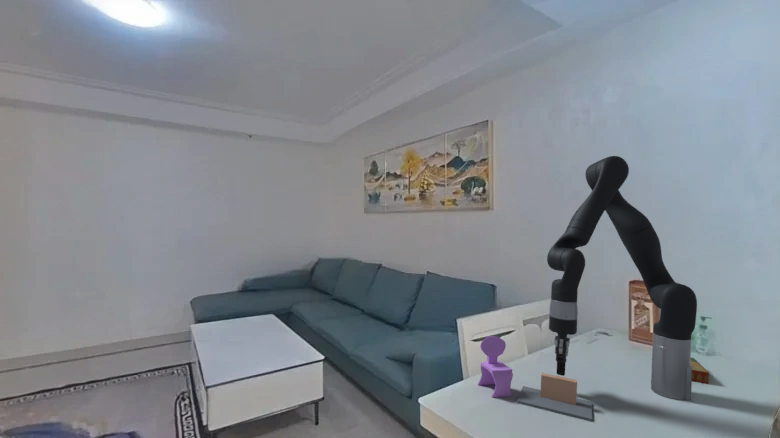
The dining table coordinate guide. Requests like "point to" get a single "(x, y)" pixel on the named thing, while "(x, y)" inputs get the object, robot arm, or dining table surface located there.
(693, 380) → the carton
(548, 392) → the block
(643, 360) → the dining table surface
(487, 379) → the toy chair
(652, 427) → the dining table surface
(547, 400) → the mat
